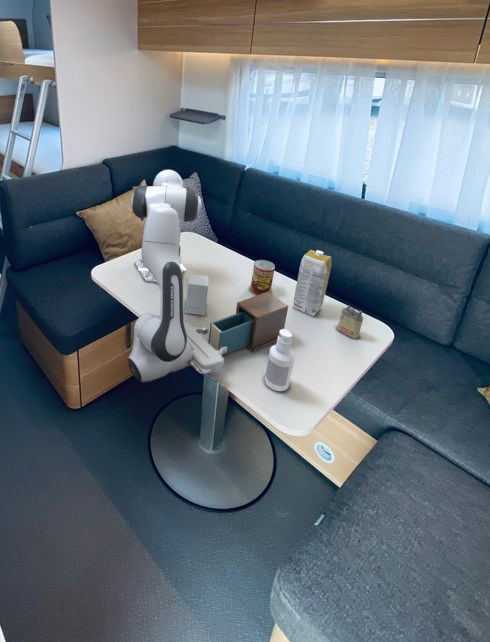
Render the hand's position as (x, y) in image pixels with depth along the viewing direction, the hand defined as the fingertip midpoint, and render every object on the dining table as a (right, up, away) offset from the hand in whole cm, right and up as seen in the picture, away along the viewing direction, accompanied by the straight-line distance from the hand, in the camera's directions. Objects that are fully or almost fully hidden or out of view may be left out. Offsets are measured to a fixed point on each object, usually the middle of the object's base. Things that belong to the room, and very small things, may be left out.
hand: (215, 338), depth 129 cm
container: (+6, -4, +5) cm, 8 cm away
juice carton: (+40, +2, +26) cm, 48 cm away
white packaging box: (-3, +3, +24) cm, 25 cm away
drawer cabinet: (+17, -3, +11) cm, 20 cm away
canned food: (+25, +6, +37) cm, 45 cm away
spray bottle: (+16, -10, -8) cm, 21 cm away
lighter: (+49, -3, +14) cm, 51 cm away
